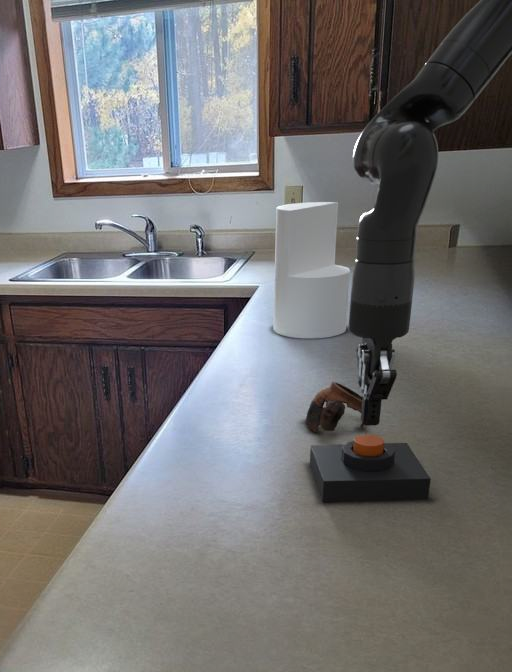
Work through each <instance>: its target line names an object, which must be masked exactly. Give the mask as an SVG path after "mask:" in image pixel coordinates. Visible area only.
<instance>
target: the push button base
mask: <svg viewBox="0 0 512 672" xmlns="http://www.w3.org/2000/svg"><path fill="white" fill-rule="evenodd" d="M353 448H354V440H351V441H348V442H346V443H345V444H343V443H342V444H314V445H313V444H312V445H310V449H309V450H310V451H309V467H310V469H311V472H312V476H313V478H314V481H315V485H316V487H317V490H318V493H319V496H320V499H321V502H322V503H346V502H347V503H348V502H350V503H351V502H389V501H390V502H391V501H392V502H393V501H394V502H395V501H428V500H429V494H430V486H431V476H430V475H429V474H428V472H427V471H426V469H425V467H424V466H423V464H422V463H421V462H420V460H419V459H418V458H417V456H416V454H415V453H414V451H413V450H412V448H411V446H410V445H409V444H408V442H389V443H388V442H384V449H383V454H381V455H378V456H364V455H359V454H357V453H355V452H353Z"/></svg>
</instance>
